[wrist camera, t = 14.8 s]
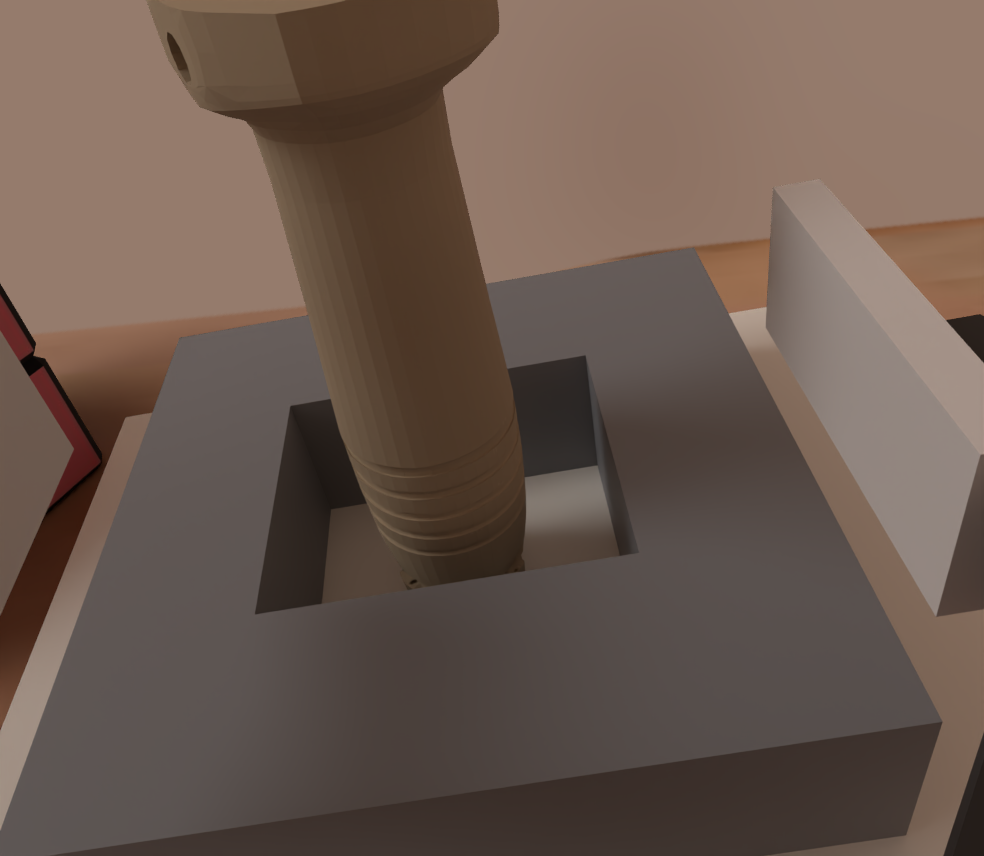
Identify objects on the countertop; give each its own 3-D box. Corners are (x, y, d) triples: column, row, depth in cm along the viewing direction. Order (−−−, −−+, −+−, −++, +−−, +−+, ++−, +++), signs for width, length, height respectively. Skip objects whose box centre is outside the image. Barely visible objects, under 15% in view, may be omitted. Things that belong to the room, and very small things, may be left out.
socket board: (-101, 1123, 17) (-311, 1035, 13) (142, 448, 32) (74, 324, 29) (1164, 950, 16) (1294, 805, 12) (792, 337, 31) (803, 195, 28)
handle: (482, 473, 26) (356, -100, 16) (619, 608, 22) (558, -67, 12) (338, 553, 24) (105, -28, 15) (454, 717, 20) (230, 41, 10)
